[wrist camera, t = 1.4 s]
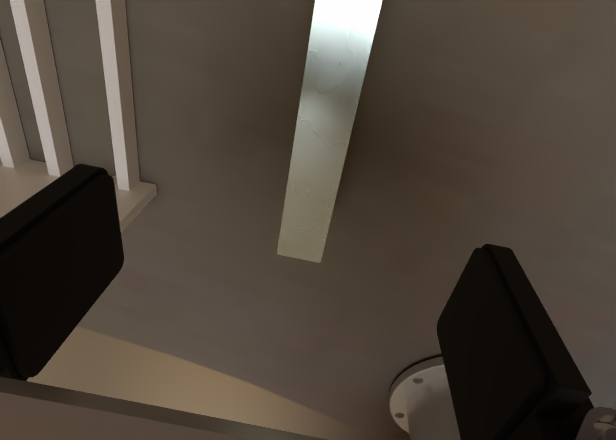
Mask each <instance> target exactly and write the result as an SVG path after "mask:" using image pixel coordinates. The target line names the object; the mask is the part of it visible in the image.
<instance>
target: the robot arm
mask: <svg viewBox="0 0 616 440" xmlns="http://www.w3.org/2000/svg"><path fill="white" fill-rule="evenodd" d="M123 262H124V254H123V246H122V238H121V230H120V223H119V215H118V207H117V200H116V192H115V184H114V179H113V177H112V176H110V175H108V173H107V171H106V170H105V169H104V168H100V167H94V166H89V165H84V164H78V165H76V166H75V167H73V168H72V169H70V170H69V171H67V172H66V173H65V174H63V175H62V176H60V177H59V178H57V179H56V180H54V181H53V182H52V183H50V184H49V185H47V186H46V187H44V188H43V189H42V190H40V191H39V192H37V193H36V194H34V195H33V196H31V197H30V198H29V199H27V200H26V201H24V202H23V203H21V204H20V205H18V206H17V207H16V208H14V209H13V210H11V211H10V212H8V213H7V214H5V215H4V216H3V217H1V218H0V440H326V439H321V438H316V437H311V436H306V435H301V434H296V433H291V432H286V431H281V430H276V429H271V428H265V427H261V426H256V425H251V424H245V423H240V422H235V421H230V420H225V419H220V418H215V417H209V416H205V415H200V414H194V413H189V412H184V411H179V410H174V409H169V408H164V407H159V406H153V405H148V404H143V403H138V402H132V401H127V400H122V399H117V398H112V397H106V396H101V395H96V394H91V393H85V392H80V391H75V390H70V389H64V388H59V387H53V386H48V385H43V384H38V383H33V382H28V381H26V380H27V379H28V378H29V377H34V376H36V375H37V374H38V373H39V372H40V371H41V370H42V369H43V367H44V366H45V365H46V364H47V362H48V361H49V360H50V359H51V357H52V356H53V355H54V353H55V352H56V351H57V350H58V349H59V347H60V346H61V345H62V343H63V342H64V341H65V339H66V338H67V337H68V336H69V335H70V333H71V332H72V331H73V330H74V328H75V327H76V326H77V324H78V323H79V322H80V321H81V319H82V318H83V317H84V316H85V314H86V313H87V312H88V311H89V309H90V308H91V307H92V305H93V304H94V303H95V302H96V300H97V299H98V298H99V297H100V295H101V294H102V293H103V292H104V290H105V289H106V288H107V286H108V285H109V284H110V283H111V281H112V280H113V279H114V278H115V276H116V275H117V274H118V273H119V271H120V270H121V268H122V266H123ZM437 335H438V339H439V344H440V348H441V353H442V357H437V358H433V359H430V360H426V361H423V362H421V363H419V364H416V365H414V366H412V367H411V368H409V369H408V370H406V371H405V372H403V373H402V374H401V375H400V376H399V377H398V378H397V379H396V380H395V382H394V383H393V385H392V386H391V389H390V392H389V407H390V413H391V415H392V417H393V419H394V421H395V422H396V423H397V424H398V425H399V426H400V427H401V428H402V429H403V430H405V431H406V432H407V433H409V436H410V440H616V410H614V409H611V408H605V407H597V408H594V407H593V405H592V403H591V401H590V399H589V396H590V395H591V394H592V393H591V391H590V389H589V388H588V386H587V384H586V382H585V380H584V379H583V377H582V375H581V373H580V372H579V370H578V368H577V366H576V364H575V363H574V361H573V359H572V357H571V355H570V354H569V352H568V350H567V348H566V346H565V345H564V343H563V341H562V339H561V337H560V336H559V334H558V332H557V330H556V328H555V327H554V325H553V323H552V321H551V319H550V318H549V316H548V314H547V312H546V310H545V309H544V307H543V305H542V303H541V301H540V300H539V298H538V296H537V294H536V292H535V291H534V289H533V287H532V285H531V283H530V282H529V280H528V278H527V276H526V274H525V273H524V271H523V269H522V267H521V265H520V264H519V262H518V260H517V258H516V256H515V255H514V253H513V251H512V250H511V249H510V248H506V247H501V246H496V245H491V244H485V245H484V246H482V248H476V249H475V250H474V251H473V253H472V255H471V257H470V259H469V261H468V263H467V265H466V267H465V269H464V271H463V273H462V274H461V276H460V278H459V280H458V282H457V284H456V286H455V288H454V290H453V292H452V294H451V296H450V298H449V300H448V302H447V304H446V306H445V308H444V310H443V312H442V314H441V316H440V317H439V320H438V323H437Z"/></svg>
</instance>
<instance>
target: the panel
mask: <svg viewBox="0 0 616 440" xmlns="http://www.w3.org/2000/svg"><path fill="white" fill-rule="evenodd" d="M381 3H382V0H315V6H314V12H313V19H312V25H311V32H310V39H309V45H308V52H307V58H306V65H305V71H304V78H303V85H302V91H301V98H300V104H299V111H298V118H297V124H296V131H295V137H294V144H293V150H292V157H291V164H290V170H289V177H288V183H287V190H286V196H285V203H284V210H283V216H282V223H281V229H280V236H279V242H278V249H277V254H278V255H283V256H288V257H293V258H298V259H303V260H308V261H313V262H318V263H321V259H322V255H323V251H324V246H325V242H326V238H327V234H328V229H329V225H330V221H331V217H332V212H333V208H334V204H335V200H336V195H337V191H338V187H339V182H340V178H341V174H342V170H343V165H344V161H345V157H346V153H347V148H348V144H349V140H350V136H351V131H352V127H353V123H354V119H355V114H356V110H357V106H358V101H359V97H360V93H361V89H362V84H363V80H364V76H365V72H366V67H367V63H368V59H369V55H370V50H371V46H372V42H373V38H374V33H375V29H376V25H377V21H378V16H379V12H380V8H381Z"/></svg>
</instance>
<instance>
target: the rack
mask: <svg viewBox="0 0 616 440" xmlns="http://www.w3.org/2000/svg"><path fill="white" fill-rule="evenodd" d="M10 4H11V8H12V13H13V17H14V21H15V26H16V30H17V35H18V39H19V44H20V48H21V53H22V57H23V62H24V66H25V71H26V75H27V80H28V84H29V88H30V93H31V97H32V102H33V106H34V111H35V115H36V120H37V124H38V129H39V133H40V138H41V142H42V146H43V151H44V155H45V160H46V162H42V161H37V160H32V159H30V156H29V152H28V148H27V144H26V140H25V136H24V132H23V128H22V124H21V120H20V116H19V112H18V108H17V104H16V100H15V96H14V92H13V88H12V84H11V80H10V76H9V72H8V67H7V63H6V59H5V55H4V51H3V47H2V43H1V39H0V218H1V217H3V216H4V215H5V214H7V213H8V212H10V211H11V210H13V209H14V208H16V207H17V206H18V205H20V204H21V203H23V202H24V201H26V200H27V199H29V198H30V197H31V196H33V195H34V194H36V193H37V192H39V191H40V190H42V189H43V188H44V187H46V186H47V185H49V184H50V183H52V182H53V181H54V180H56V179H57V178H59V177H60V176H62V175H63V174H65V173H66V172H67V171H69V170H70V169H72V168H73V167H74V165H73V160H72V154H71V149H70V143H69V138H68V132H67V127H66V121H65V116H64V110H63V105H62V99H61V94H60V88H59V83H58V77H57V72H56V66H55V61H54V55H53V50H52V44H51V39H50V33H49V28H48V22H47V17H46V12H45V6H44V1H43V0H10ZM96 7H97V16H98V24H99V33H100V41H101V50H102V58H103V67H104V75H105V84H106V92H107V101H108V109H109V118H110V126H111V135H112V143H113V152H114V160H115V168H116V176H112V175H110V176H112V177H113V179H114V184H115V192H116V200H117V207H118V215H119V223H120V230H121V232H122V231H123V230H124V229H125V228H126V227H127V226H128V225H129V224H130V223H131V222H132V221H133V219H134V218H135V217H136V216H137V215H138V214H139V213H140V212H141V211H142V210H143V209H144V208H145V207H146V205H147V204H148V203H149V202H150V201H151V200H152V199H153V198H154V197H155V196H156V195H157V186H156V184H151V183H146V182H141V181H140V176H139V164H138V151H137V139H136V127H135V115H134V102H133V90H132V78H131V65H130V53H129V41H128V29H127V16H126V4H125V0H96Z"/></svg>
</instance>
